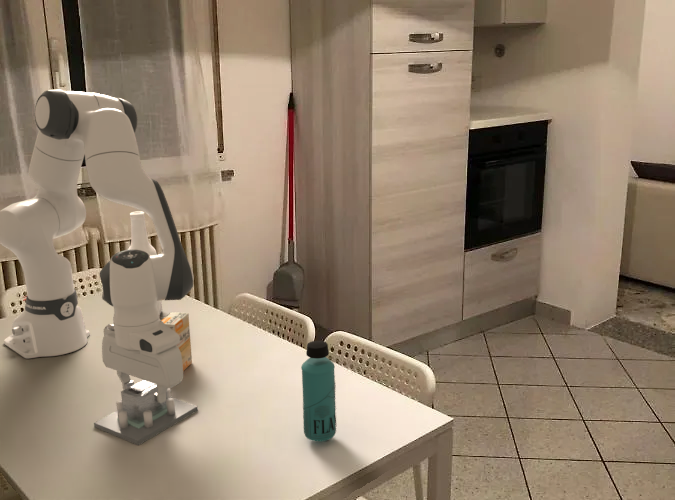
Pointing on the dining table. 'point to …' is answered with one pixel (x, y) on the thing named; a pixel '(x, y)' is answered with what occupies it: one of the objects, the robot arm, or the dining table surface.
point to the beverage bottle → (318, 393)
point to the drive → (141, 401)
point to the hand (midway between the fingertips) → (144, 395)
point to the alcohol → (141, 239)
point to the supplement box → (181, 334)
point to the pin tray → (145, 432)
